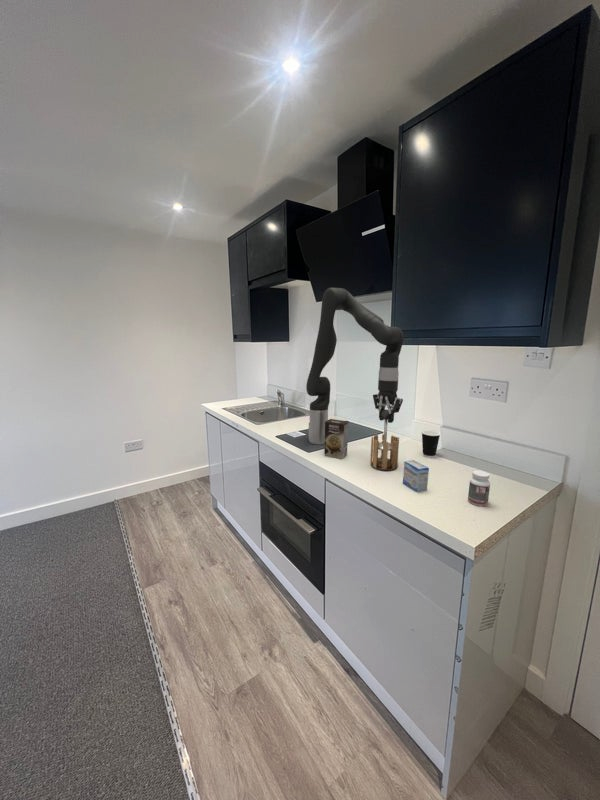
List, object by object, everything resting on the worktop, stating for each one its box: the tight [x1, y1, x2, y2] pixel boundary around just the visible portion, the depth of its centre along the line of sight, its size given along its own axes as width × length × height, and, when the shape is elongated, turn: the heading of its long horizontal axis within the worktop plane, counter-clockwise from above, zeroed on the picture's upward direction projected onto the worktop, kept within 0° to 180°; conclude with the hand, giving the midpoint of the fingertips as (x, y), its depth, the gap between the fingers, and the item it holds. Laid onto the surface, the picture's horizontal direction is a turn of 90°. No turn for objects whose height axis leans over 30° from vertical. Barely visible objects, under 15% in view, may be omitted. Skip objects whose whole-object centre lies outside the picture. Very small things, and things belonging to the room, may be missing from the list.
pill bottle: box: [467, 470, 491, 507], centre depth 101 cm, size 6×6×10 cm
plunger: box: [378, 408, 392, 452], centre depth 128 cm, size 8×8×15 cm
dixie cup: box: [421, 429, 442, 459], centre depth 141 cm, size 8×8×11 cm
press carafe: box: [369, 433, 400, 472], centre depth 130 cm, size 11×13×12 cm
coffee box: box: [323, 418, 349, 460], centre depth 141 cm, size 9×6×16 cm
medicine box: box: [402, 459, 430, 493], centre depth 112 cm, size 8×4×9 cm, turn 21°
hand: (386, 421), depth 127 cm, fingers closed on plunger, 3 cm apart
